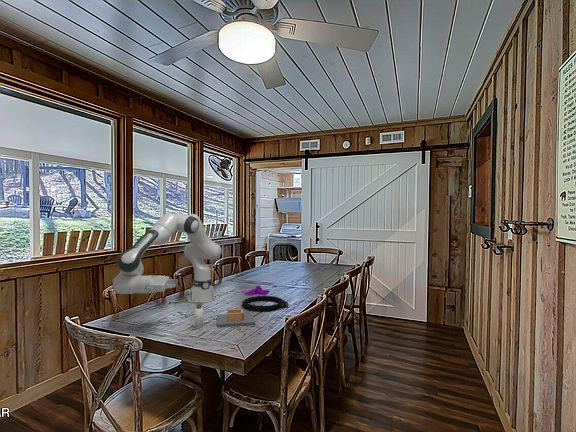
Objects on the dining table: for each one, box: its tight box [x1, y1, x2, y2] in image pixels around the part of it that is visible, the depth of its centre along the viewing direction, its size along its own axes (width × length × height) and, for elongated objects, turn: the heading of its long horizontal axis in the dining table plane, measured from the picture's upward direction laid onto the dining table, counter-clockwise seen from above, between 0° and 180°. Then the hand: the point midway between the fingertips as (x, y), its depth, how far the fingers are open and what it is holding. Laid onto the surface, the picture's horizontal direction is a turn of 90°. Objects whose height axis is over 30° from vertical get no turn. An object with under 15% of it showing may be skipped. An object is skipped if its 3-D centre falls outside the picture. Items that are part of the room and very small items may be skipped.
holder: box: [216, 308, 256, 328], centre depth 181 cm, size 20×16×6 cm
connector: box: [194, 302, 204, 330], centre depth 171 cm, size 4×4×13 cm
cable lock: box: [241, 295, 289, 313], centre depth 211 cm, size 28×4×30 cm
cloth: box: [242, 285, 270, 297], centre depth 243 cm, size 22×19×6 cm
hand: (176, 283), depth 168 cm, fingers open, 8 cm apart
